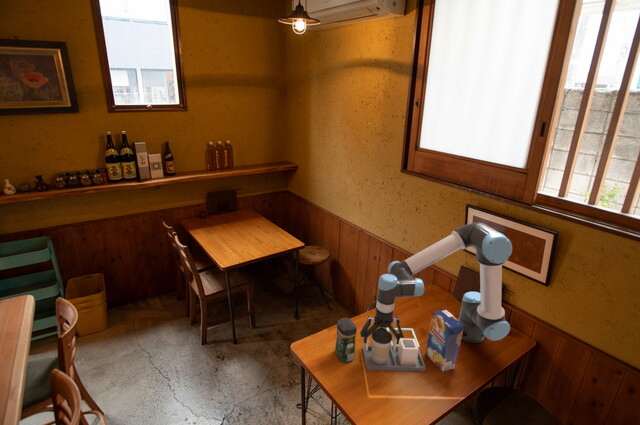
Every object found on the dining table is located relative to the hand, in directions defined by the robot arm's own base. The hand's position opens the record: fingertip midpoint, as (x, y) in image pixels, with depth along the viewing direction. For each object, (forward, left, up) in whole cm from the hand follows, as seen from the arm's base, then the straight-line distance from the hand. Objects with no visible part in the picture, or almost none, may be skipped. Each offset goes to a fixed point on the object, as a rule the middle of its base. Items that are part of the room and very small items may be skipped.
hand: (380, 348), depth 160 cm
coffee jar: (+16, -3, -7) cm, 17 cm away
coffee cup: (0, 0, -6) cm, 6 cm away
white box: (-13, 0, -6) cm, 14 cm away
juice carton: (-28, 0, -7) cm, 29 cm away
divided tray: (-6, 0, -7) cm, 9 cm away
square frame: (-14, -15, -7) cm, 22 cm away
